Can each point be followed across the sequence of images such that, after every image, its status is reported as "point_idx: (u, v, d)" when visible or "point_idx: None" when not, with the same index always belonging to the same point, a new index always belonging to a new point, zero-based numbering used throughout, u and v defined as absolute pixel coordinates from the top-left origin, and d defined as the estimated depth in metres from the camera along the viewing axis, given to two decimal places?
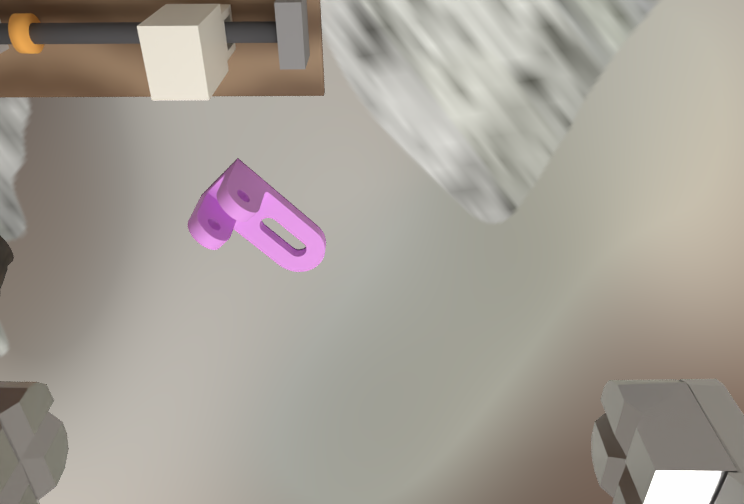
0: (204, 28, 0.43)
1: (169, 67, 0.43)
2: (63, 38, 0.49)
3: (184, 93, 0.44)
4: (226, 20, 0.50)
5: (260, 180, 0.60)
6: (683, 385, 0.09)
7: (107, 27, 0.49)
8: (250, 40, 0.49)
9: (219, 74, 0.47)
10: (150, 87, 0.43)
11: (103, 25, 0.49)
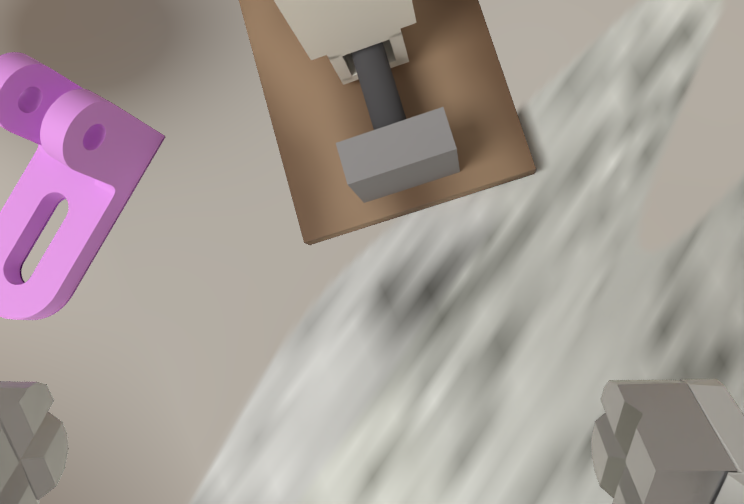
0: None
1: None
2: None
3: None
4: None
5: (133, 177, 0.35)
6: (683, 385, 0.09)
7: None
8: (368, 90, 0.29)
9: (306, 24, 0.26)
10: None
11: None
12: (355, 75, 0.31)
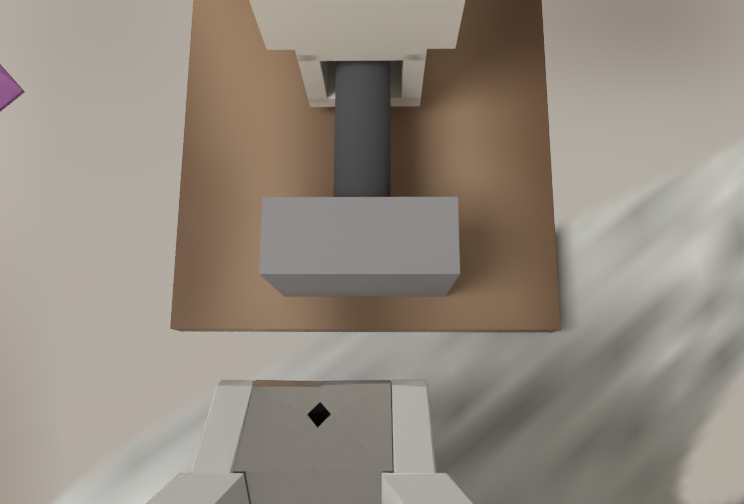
0: None
1: None
2: None
3: None
4: None
5: None
6: (386, 386, 0.09)
7: None
8: (344, 128, 0.17)
9: None
10: None
11: None
12: (332, 99, 0.20)
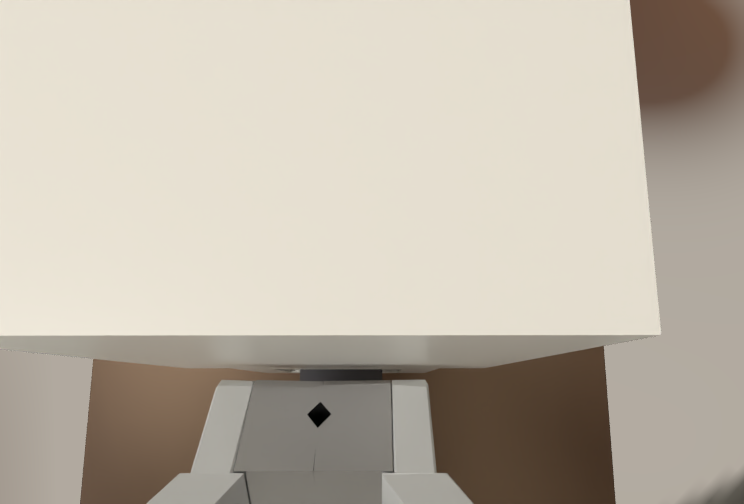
0: (521, 349, 0.05)
1: (239, 0, 0.04)
2: None
3: None
4: None
5: None
6: (386, 385, 0.09)
7: None
8: None
9: (164, 361, 0.08)
10: None
11: None
12: (298, 372, 0.14)
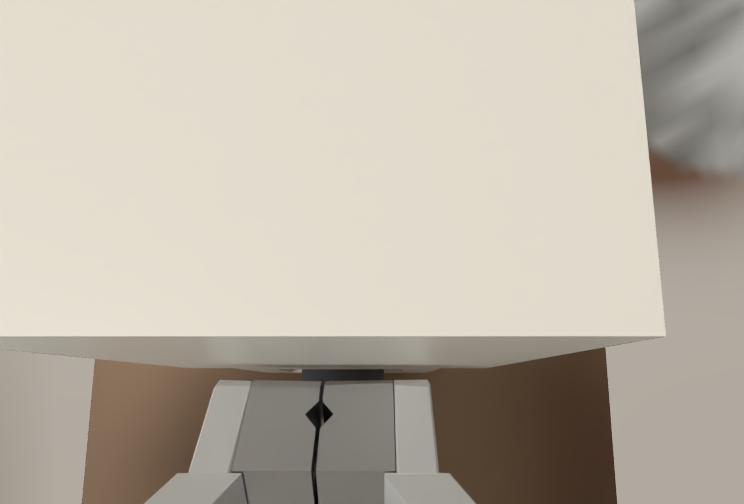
0: (524, 350, 0.05)
1: (244, 2, 0.04)
2: None
3: None
4: None
5: None
6: (388, 385, 0.09)
7: None
8: None
9: (167, 361, 0.08)
10: None
11: None
12: (300, 372, 0.14)
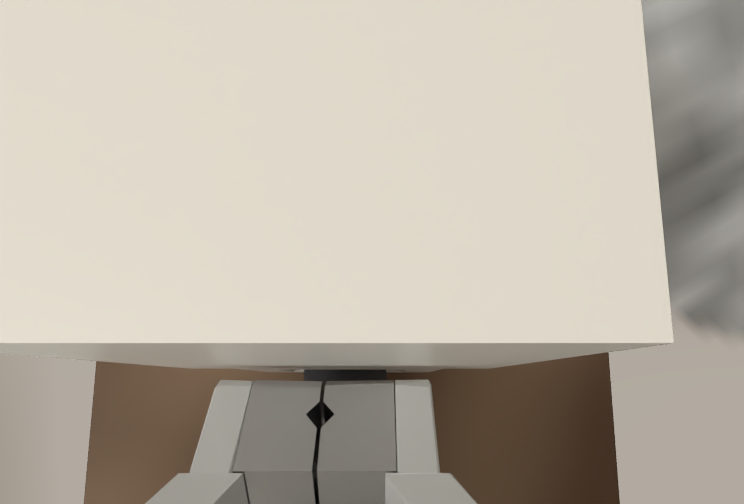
0: (529, 354, 0.05)
1: (247, 4, 0.04)
2: None
3: None
4: None
5: None
6: (389, 385, 0.09)
7: None
8: None
9: (168, 363, 0.08)
10: None
11: None
12: None
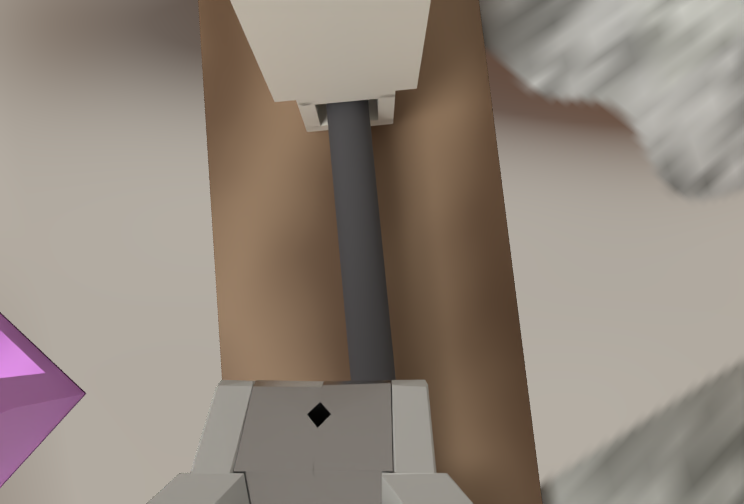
0: (409, 13, 0.17)
1: None
2: None
3: None
4: None
5: (29, 449, 0.25)
6: (386, 385, 0.09)
7: (368, 161, 0.23)
8: None
9: (279, 63, 0.19)
10: None
11: (370, 152, 0.23)
12: (324, 126, 0.25)
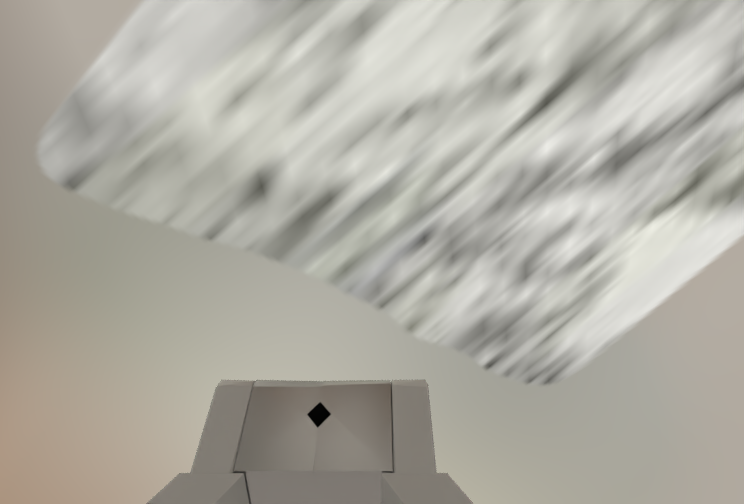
0: None
1: None
2: None
3: None
4: None
5: None
6: (386, 386, 0.09)
7: None
8: None
9: None
10: None
11: None
12: None
